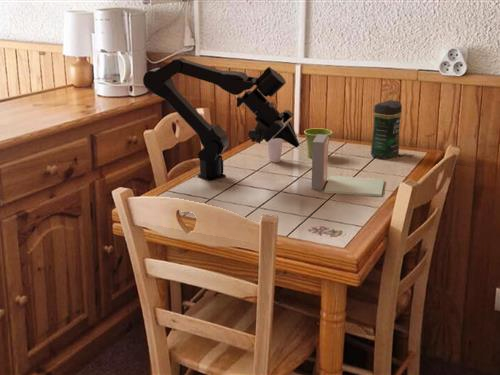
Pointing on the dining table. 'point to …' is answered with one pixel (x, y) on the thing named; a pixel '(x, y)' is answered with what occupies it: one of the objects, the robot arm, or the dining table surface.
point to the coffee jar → (386, 129)
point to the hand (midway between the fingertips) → (298, 146)
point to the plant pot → (311, 136)
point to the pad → (354, 186)
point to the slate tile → (319, 161)
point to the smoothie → (274, 149)
